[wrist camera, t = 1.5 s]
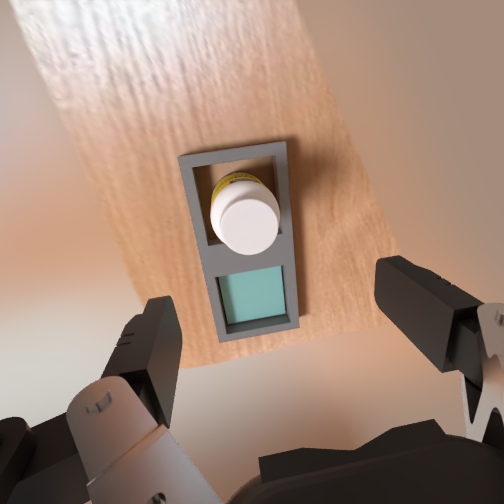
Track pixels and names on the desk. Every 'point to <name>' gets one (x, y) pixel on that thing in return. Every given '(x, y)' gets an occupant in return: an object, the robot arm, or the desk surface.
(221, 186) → the supplement bottle
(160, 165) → the desk surface
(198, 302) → the desk surface
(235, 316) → the frame
